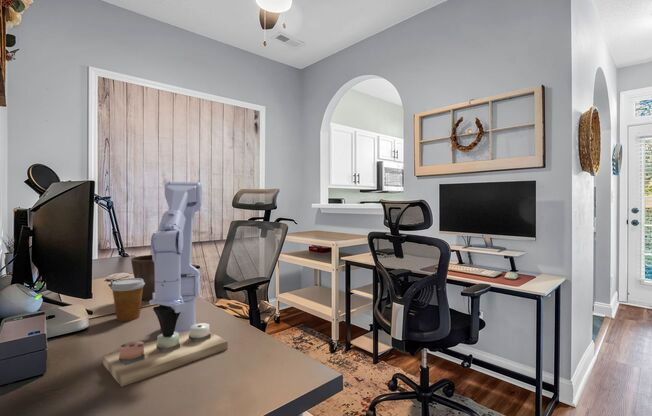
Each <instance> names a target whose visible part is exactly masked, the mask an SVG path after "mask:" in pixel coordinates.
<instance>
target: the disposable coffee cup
mask: <svg viewBox="0 0 652 416" xmlns="http://www.w3.org/2000/svg"><path fill="white" fill-rule="evenodd" d="M144 284H145V283H144V281H143V279H141V278H134V277H133V278H132V277H131V278H121V279H118V280H115V281H112V283H111V286H110V289H111V291H112V296H113V302H114V303H113V304H114V309H115V314H116V320H117V321H118V322H128V321H129V322H130V321H134V320H136V319H139V318H140V314H141V308H142V301H143V299H142V293H143V287H144Z"/></svg>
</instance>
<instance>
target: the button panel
mask: <svg viewBox="0 0 652 416" xmlns="http://www.w3.org/2000/svg"><path fill="white" fill-rule="evenodd" d="M143 343H144V353H143V355H141V356H139V357H137V358H133V359H127V360H124V359H120V358H119V350H117V351H114V352H110V353H107V354H104V355H102V365H103V366H104V367H105V368H106V370H107V371H108V372H109V374H110V375H111V376H112V377H113V378H114V379H115V381H116V382H117V383H118V385H119V386H120V387H121V388H123V387H126V386H129V385H131V384H134V383H137V382H140V381H142V380H144V379H147V378H150V377H154V376H156V375H159V374H162V373H164V372H167V371H171V370H172V369H175V368H179V367H180V366H184V365H186V364H190V363H192V361H193V362H195V361H197V360H200V359H204V358H206V357H209V356H212V355H214V354H217V353H221V352H222V351H225V350H228V349H229V346H228V340H227V339H224V338H223V337H221V336H219V335H217V334H215V333H213V332H212V331H210V330H209V334H208V335H207V336H204V337H200V338H193V337H190V331H186V332H183V333H179V343H178V344H177V345H175V346H172V347H168V348H160V347H158V346H157V339H155V340H152V341H148V342H143Z"/></svg>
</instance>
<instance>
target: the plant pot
mask: <svg viewBox="0 0 652 416" xmlns="http://www.w3.org/2000/svg"><path fill="white" fill-rule="evenodd" d="M130 261H131V267H132V268H131V269H132V272H133V273H132V274H133V276H134V277H133V278H141V279H143V281H144V283H145V284H144V287H143V293H142V301H150V300H153V293H155V262H153V260H152V254H147V255H139V256H134V257H131V259H130Z"/></svg>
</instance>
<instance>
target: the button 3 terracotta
mask: <svg viewBox="0 0 652 416" xmlns="http://www.w3.org/2000/svg"><path fill="white" fill-rule="evenodd" d="M144 343H145V342H144V341H138V340H137V341H129V342H126V343H124V344H121V345H120V346H119V348H118V349H119V350H118V351H119V358H120V359H124V360H127V359H133V358H137V357H139V356H141V355H143V353H144Z"/></svg>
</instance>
